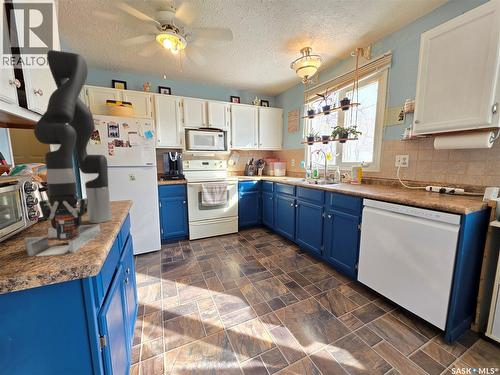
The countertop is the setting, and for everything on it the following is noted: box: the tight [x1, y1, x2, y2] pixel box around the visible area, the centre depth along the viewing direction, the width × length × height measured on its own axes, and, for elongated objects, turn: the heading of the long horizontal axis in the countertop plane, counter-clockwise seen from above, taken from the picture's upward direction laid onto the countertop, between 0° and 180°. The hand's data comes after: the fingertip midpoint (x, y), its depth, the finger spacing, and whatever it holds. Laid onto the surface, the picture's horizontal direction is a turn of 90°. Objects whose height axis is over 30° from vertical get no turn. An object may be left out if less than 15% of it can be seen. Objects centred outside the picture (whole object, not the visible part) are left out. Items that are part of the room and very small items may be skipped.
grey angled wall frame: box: [23, 224, 101, 257], centre depth 75 cm, size 18×17×4 cm
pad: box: [35, 244, 69, 257], centre depth 70 cm, size 8×8×1 cm
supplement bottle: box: [55, 209, 79, 242], centre depth 75 cm, size 6×6×11 cm
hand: (67, 227), depth 75 cm, fingers closed on supplement bottle, 6 cm apart
